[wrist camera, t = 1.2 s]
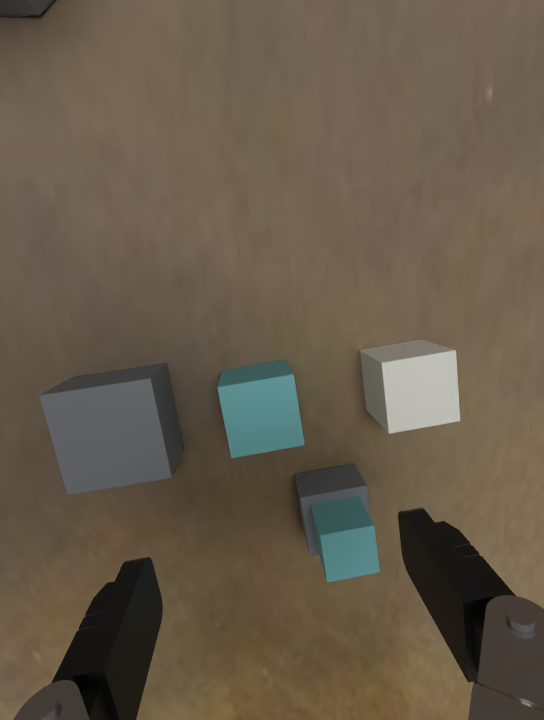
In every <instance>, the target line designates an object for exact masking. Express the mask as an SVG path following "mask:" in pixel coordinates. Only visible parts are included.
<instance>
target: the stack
mask: <svg viewBox="0 0 544 720" xmlns="http://www.w3.org/2000/svg"><path fill="white" fill-rule="evenodd" d="M294 475H295V481H296V487H297V493H298V499H299V506H300V512H301V518H302V524H303V529H304V534H305V538H306V542H307V547H308V551H309V555H310V556H313V555H319V554H320V558H321V561H322V565H323V569H324V573H325V576H326V580H327V582H332V581H337V580H342V579H347V578H352V577H358V576H363V575H368V574H373V573H379V572H380V570H379V562H378V553H377V545H376V536H375V528H374V524H373V522H372V520H371V517H370V509H369V500H368V492H367V485H366V483H365V482H364V480H363V478H362V477H361V475H360V473H359V472H358V470H357V468H356V467H355V465H354V464H348V465H343V466H337V467H332V468H326V469H321V470H315V471H310V472H304V473H299V474H294Z"/></svg>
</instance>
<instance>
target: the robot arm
mask: <svg viewBox="0 0 544 720" xmlns="http://www.w3.org/2000/svg"><path fill="white" fill-rule="evenodd" d="M398 521H399V530H400V540H401V550H402V557H403V561H404V564H405V567H406V570H407V572H408V574H409V576H410V578H411V580H412V582H413V584H414V585H415V587H416V589H417V591H418V593H419V594H420V596H421V598H422V600H423V602H424V603H425V605H426V607H427V609H428V611H429V613H430V614H431V616H432V618H433V620H434V622H435V623H436V625H437V627H438V629H439V631H440V632H441V634H442V636H443V638H444V640H445V641H446V643H447V645H448V647H449V649H450V650H451V652H452V654H453V656H454V658H455V659H456V661H457V663H458V665H459V667H460V668H461V670H462V672H463V674H464V676H465V677H466V679H467V681H468V682H473V681H474V683H473V688H472V694H471V702H470V710H469V718H468V720H544V609H543V608H541V607H540V606H539V605H537V604H535V603H534V602H532V601H529V600H527V599H525V598H522V597H518V596H515V594H514V593H513V592H512V591H511V590H510V589H509V587H508V586H507V585H506V584H505V583H504V582H503V580H502V579H501V578H500V577H499V576H498V575H497V573H496V572H495V571H494V570H493V569H492V568H491V567H490V565H489V564H488V563H487V562H486V561H485V560H484V558H483V557H482V556H480V555H479V553H478V551H477V550H476V549H475V548H474V547H473V546H471V544H470V542H469V541H468V540H467V539H466V538H465V536H464V535H463V534H462V533H461V532H460V531H459V530H458V529H456V528H454V527H453V526H451V525H449V524H448V523H446V522H444V521H442V522H437V523H435V522H434V521H433V520H432V518H431V517H430V516H429V515H428V513H427V512H426V511H425V510H424V509H423V508H417V509H411V510H406V511H400V512H399V513H398ZM162 612H163V606H162V597H161V593H160V589H159V586H158V582H157V578H156V574H155V570H154V566H153V563H152V560H151V558H150V557H147V558H141V559H136V560H130V561H125V562H124V563H123V565H122V567H121V569H120V571H119V573H118V576H117V578H116V580H115V582H109V583H107V584H106V585H105V586H104V587H103V588H102V589H101V590H100V591H99V593H98V594H97V595H96V596H95V597H94V598H93V600H92V602H91V604H90V606H89V608H88V610H87V612H86V617H84V618H83V620H82V622H81V624H80V626H79V631H77V632H76V634H75V636H74V638H73V641H72V643H71V645H70V647H69V649H68V651H67V653H66V655H65V657H64V659H63V661H62V663H61V665H60V667H59V669H58V671H57V673H56V675H55V677H54V679H53V681H52V683H51V684H49V685H47V686H46V687H44V688H42V689H41V690H39V691H38V692H37V693H35V694H34V695H33V696H32V697H31V698H30V699H29V700H28V701H27V702H26V703H25V704H24V705H23V706H22V708H21V709H20V710H19V712H18V713H17V715H16V716H15V718H14V720H136V717H137V714H138V710H139V706H140V702H141V698H142V694H143V690H144V686H145V683H146V679H147V675H148V671H149V667H150V663H151V659H152V656H153V652H154V648H155V644H156V640H157V636H158V632H159V629H160V625H161V621H162Z"/></svg>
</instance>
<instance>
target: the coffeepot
mask: <svg viewBox="0 0 544 720" xmlns="http://www.w3.org/2000/svg"><path fill="white" fill-rule="evenodd" d="M55 1H56V0H0V16H5V17H12V18H13V17H26V16H29V15H40V14H41V13H42V12H43V11H45V10H46V9H47V8H48V7H49V6H50V5H51V4H52V3H54V2H55Z"/></svg>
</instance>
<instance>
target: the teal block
mask: <svg viewBox="0 0 544 720" xmlns="http://www.w3.org/2000/svg"><path fill="white" fill-rule="evenodd" d="M217 388H218V393H219V398H220V403H221V408H222V413H223V418H224V423H225V429H226V434H227V439H228V444H229V449H230V454H231V458H236V457H242V456H247V455H253V454H259V453H264V452H270V451H275V450H281V449H286V448H292V447H298V446H303V445H305V444H304V438H303V431H302V425H301V418H300V412H299V405H298V399H297V392H296V386H295V379H294V374H293V372H292V370H291V368H290V366H289V364H288V362H287V360H281V361H275V362H269V363H263V364H257V365H251V366H246V367H240V368H234V369H228V370H222V373H221V377H220V380H219V384H218V387H217Z"/></svg>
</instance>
